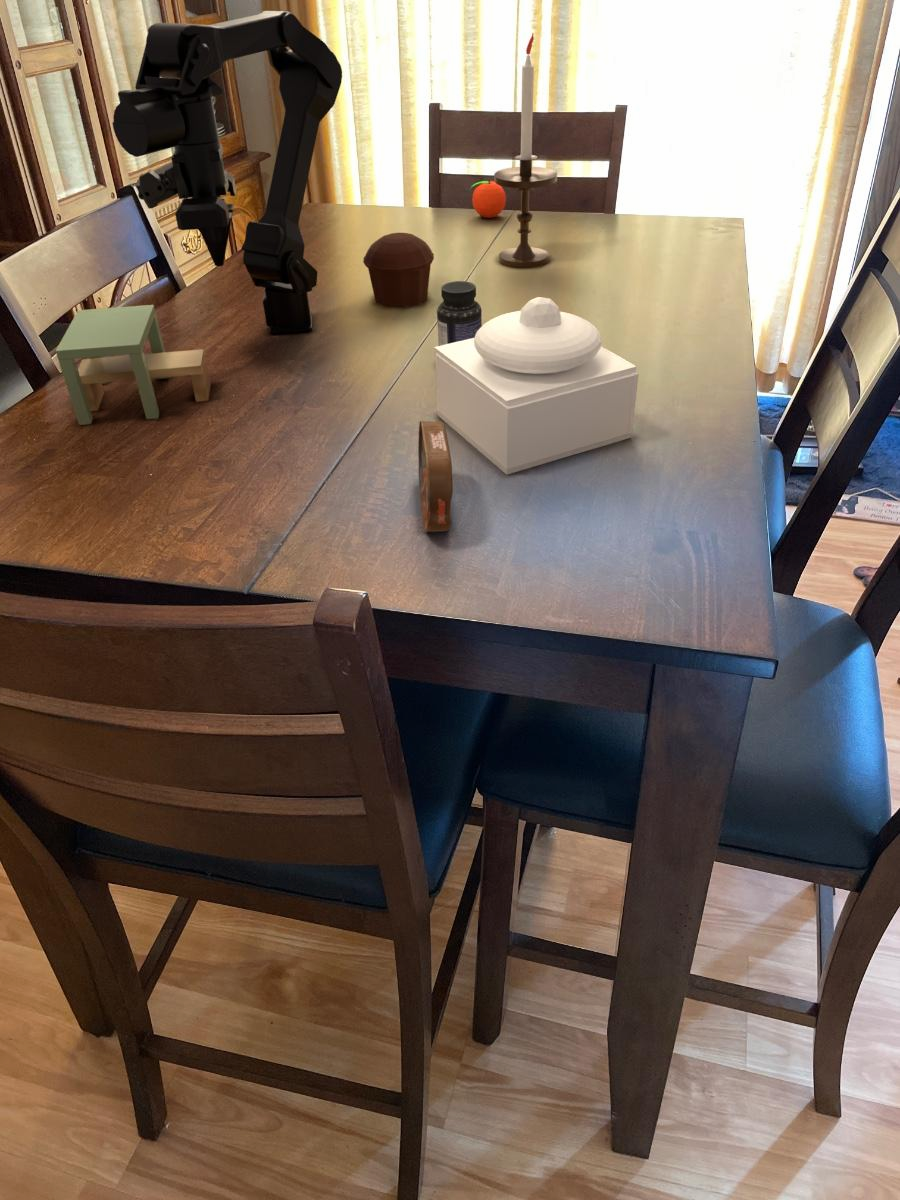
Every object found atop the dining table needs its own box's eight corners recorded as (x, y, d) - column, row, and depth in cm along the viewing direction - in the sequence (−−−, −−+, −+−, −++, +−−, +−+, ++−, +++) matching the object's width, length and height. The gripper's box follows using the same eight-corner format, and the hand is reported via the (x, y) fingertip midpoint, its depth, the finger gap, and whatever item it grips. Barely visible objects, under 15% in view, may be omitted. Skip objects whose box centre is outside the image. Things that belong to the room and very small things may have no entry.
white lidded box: (506, 475, 100) (508, 340, 90) (435, 413, 113) (430, 289, 103) (632, 437, 106) (646, 307, 96) (551, 383, 119) (556, 263, 109)
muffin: (394, 316, 140) (390, 251, 134) (352, 299, 147) (346, 237, 140) (449, 297, 146) (448, 234, 140) (407, 282, 153) (404, 221, 147)
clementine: (465, 221, 181) (464, 184, 176) (470, 212, 186) (469, 176, 182) (503, 222, 180) (504, 184, 175) (507, 212, 185) (507, 176, 181)
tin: (417, 474, 101) (413, 406, 96) (445, 472, 101) (442, 405, 96) (426, 549, 89) (421, 476, 84) (457, 546, 89) (454, 474, 84)
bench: (211, 383, 122) (203, 348, 119) (208, 400, 118) (200, 365, 115) (92, 393, 121) (82, 359, 117) (85, 412, 116) (74, 376, 113)
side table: (170, 374, 125) (153, 304, 119) (158, 418, 114) (139, 344, 108) (98, 380, 124) (77, 310, 118) (79, 425, 113) (55, 350, 107)
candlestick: (563, 255, 162) (575, 29, 140) (536, 272, 155) (543, 37, 133) (512, 247, 166) (515, 28, 145) (483, 263, 159) (481, 35, 138)
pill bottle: (487, 358, 126) (487, 281, 119) (474, 375, 122) (473, 296, 115) (447, 354, 128) (444, 277, 121) (432, 370, 123) (429, 292, 116)
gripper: (141, 130, 118) (168, 249, 128) (119, 160, 104) (151, 292, 114) (225, 125, 119) (245, 244, 129) (215, 154, 105) (238, 286, 115)
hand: (219, 265), depth 122 cm, fingers closed
